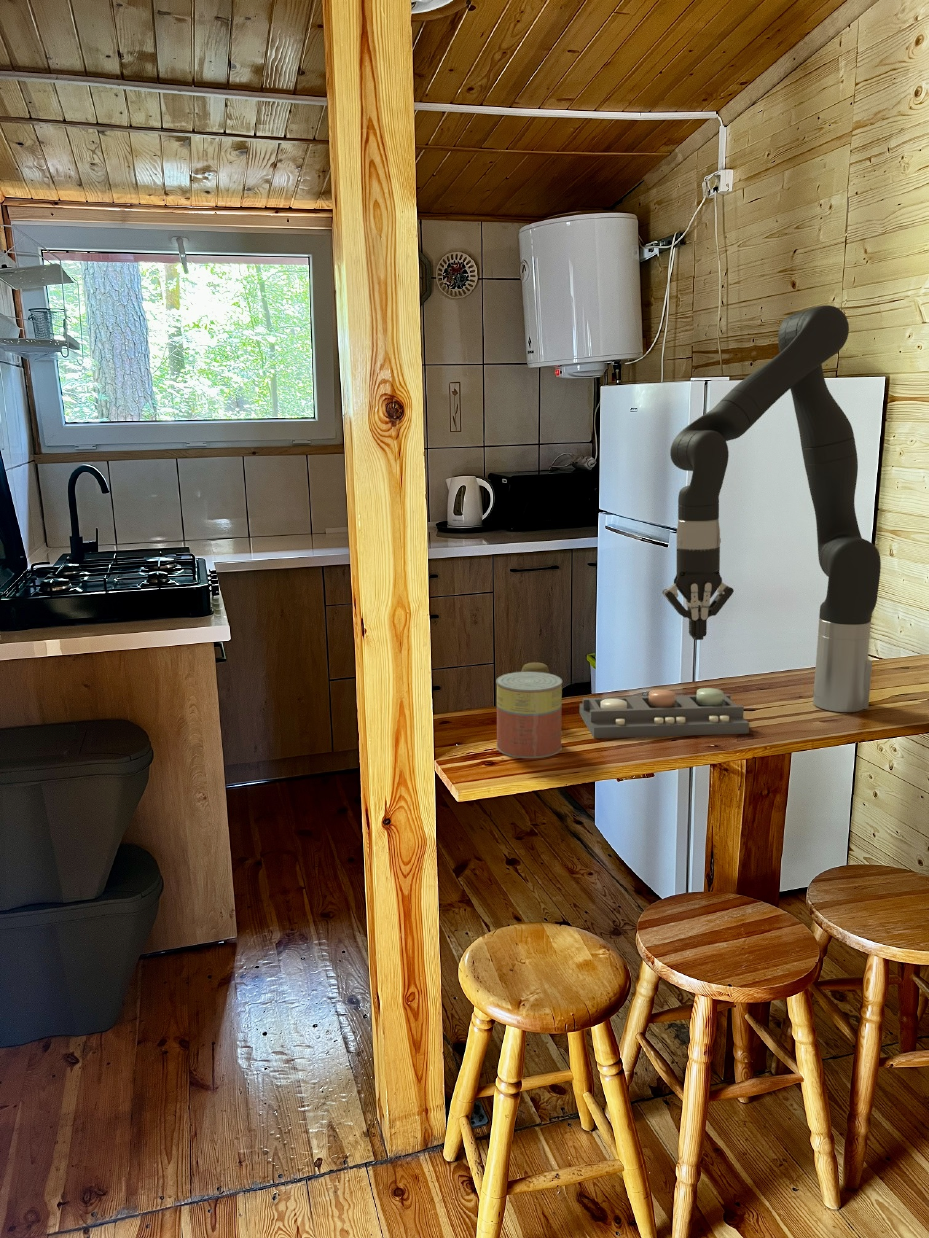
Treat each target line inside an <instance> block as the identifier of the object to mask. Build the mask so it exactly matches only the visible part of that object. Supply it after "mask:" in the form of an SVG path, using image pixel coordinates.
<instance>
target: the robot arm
mask: <svg viewBox="0 0 929 1238" xmlns="http://www.w3.org/2000/svg"><path fill="white" fill-rule="evenodd" d="M849 325H850V324H849V321H848V318H847V316H846V314H845V313H844V311H842V310H841V309H840V308H839V307H836V306H834V305H830V304H829V305H828V304H826V305H818V306H814V307H811V308H807V309H803V310H801V311H797V312H795V313H792V314H790V315H788V316H787V317H786V318H784V319H783V320H782V322H781V324H780V326H779V328H778V332H777V333H778V334H777V335H778V336H777V344H778V350H779V353H778V354H777V355H776V356H774V357H773V358H771V360H769V361H768V362H767V363H765V364H764V365H762V366H761V367H758V369H757V370H755V371H753V372H752V373H750V374H749V375H747V376H746V377H745V378H744V379H743V380H741V381H740V382H739V383H737V384H736V385H735V386H734V387H733V388H732V389H731V390H730V391H729V392H728V393H727V394H725V396H724V397H722V399H720V401H719V402H718V403H716V405H715V406H714V407H713V408H712V409H711V410H709V411H707V412H706V413H704V414H703V415H701V416H699V417H698V418H697V419H695V420H694V421H693V422H691V423H689V424H688V425H687V426H686V427H685V428H683V429H682V430H681V431H680V432H679V433H678V434H677V435H676V436H675V438H674V439H673V441H672V443H671V447H670V451H669V452H670V454H669V455H670V460H671V462H672V463H673V465H674V466H675V467H676V468H678V469H680V470H683V471H686V472H692V473H691V474H692V475H691V479H690V482H689V485H686V486H684V487H682V488H681V489H679V492H678V498H677V499H678V500H677V504H678V505H677V507H678V508H677V526H676V527H677V528H676V574H675V577H674V579H673V583H672V585H670V586H669V588H665V589H663V590H662V595H663V596H664V597H665V598H666V600H667V601H668V603H669V604H670V605H671V606H672V607H673V608H674V610H675V611H676V612H677V613H678V615H680V616H681V617H683V618H686V619H688V633H689V636H690V637H691V638H692V640H694V641H702V640H704V637H706V636H707V625H708V624H707V622H708V621H707V620H708V619H709V618H710V617H714V616H716V615H717V614H718V613H719V612H720V610H721V609H722V608H723V607H724V606H725V604H726V603H727V602H728V600H730V598H731V596H732V595H733V593H734V588H733V587H731V586H729V585H726V584H725V583H724V582H723V579H722V576H721V573H720V566H721V565H720V564H721V559H720V557H721V542H722V541H721V539H722V538H721V527H720V520H719V519H720V494H721V490H722V487H723V484H724V479H725V476H726V473H727V472H726V471H727V468H728V467H727V466H728V463H729V455H730V454H729V453H730V452H729V446H728V443H727V442H728V441H733V440H736V439H738V438H740V437H741V436H743V435H744V434H745V433H746V432H747V431H748V430H750V428H752V426H753V425H754V424H755V423H756V422H757V421H758V420H759V419H760V418H761V417H762V416H763V415H764V414H765V413H766V412H767V411H768V410H769V409H770V408H771V407H772V406H773V405H774V404H775V403H777V402H778V400H779V399H780V398H781V397H782V396H784V395H785V394H786V393H787V392H789V390H790V393H791V397H792V401H793V402H792V403H793V407H794V413H795V417H796V418H795V419H796V422H797V428H798V433H799V438H800V446H801V452H802V458H803V462H804V463H803V465H804V469H805V473H806V478H807V484H808V488H809V493H810V498H811V501H812V505H813V509H814V510H813V511H814V514H815V522H816V538H817V556H818V557H817V558H818V563H819V566H820V568H821V571H822V572H823V573H824V575H825V576H826V577H828V580H827V591H826V596H825V599H824V601H823V602H822V603H821V604H820V607H819V613H818V614H819V615H818V616H819V617H818V630H817V631H818V632H817V645H816V657H815V659H816V660H815V669H814V670H815V671H814V684H813V693H812V694H813V696H812V697H813V699H812V703H813V705H814V706H815V707H817V708H819V709H821V710H822V709H823V710H826V711H830V712H838V713H839V712H840V713H854V712H859V711H863V710H869V702H870V690H871V682H872V681H871V680H872V670H873V669H872V668H873V661H872V660H871V659H869V649H870V639H871V638H870V636H871V626H872V615H873V612H874V610H875V609H876V604H877V602H878V601H877V600H878V595H879V594H878V593H879V586H880V579H881V567H882V566H881V564H882V563H881V562H882V561H881V555H880V552H879V549H878V548H877V546H876V545H874V543H872V542H870V541H869V540H867V539H865V538H862V535H861V530H860V527H859V522H858V518H857V515H856V507H855V499H856V497H855V495H856V489H857V481H858V472H859V471H858V470H859V459H858V453H857V446H856V439H855V434H854V430H853V426H852V424H851V422H850V420H849V418H848V417H847V415H846V414H845V412H844V411H843V409H842V408H841V407H840V405H839V404H838V403H837V401H836V399H835V398H834V397H833V395H832V394H831V391H830V389H829V388H828V385H827V383H826V379H825V375H824V369H823V365H822V364H823V363H825V362H827V361H828V360H829V359H831V358H832V357H833V356H835V355H837V354H838V353H839V352H840V351H841V350H842V348H843V347H844V346H845V344H846V342H847V340H848V337H849V333H850V326H849ZM678 592H679V593H680V594H681V595H682V597H683V599H685V604H686V606H687V607H686V608H685V606H684V605H683V604H682V603H681V602H680V600H679V599H678V597H679V593H678ZM716 593H717V594H716ZM715 594H716V596H715V597H714V599H712V601H711V598H712V597H713V596H714V595H715Z"/></svg>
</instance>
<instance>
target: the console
mask: <svg viewBox="0 0 929 1238" xmlns="http://www.w3.org/2000/svg"><path fill="white" fill-rule="evenodd" d="M696 697H697V694H687V695H686V694H683V695H681V694H680V695H678V694H677V695H675V705H674V706H673V707H667V708H661V707H654V706H651V705H650V704H649V695H647V696H646V695H645V696H618V697H612V696H611V697H585V698H584V697H583V698H582V703H579V715H580V717H581V719H582V720H583V722H584V724H585V725H586V727H587V729H588V731H589V732H590V734H591V736H592V738H593V739H615V738H616V739H617V738H618V739H619V738H643V737H644V738H645V737H679V736H681V737H683V736H709V735H713V736H714V735H736V734H737V735H740V734H741V735H742V734H743V735H744V734H746V735H747V734H749V733H750V723H749V721H748V720H746V718H745V717H744V713H745V712H744V710H745V707H744V706H743V705H742V704H741V705H740V704H739V705H737V704H735V702H734V701H732V699H731V697H732V696H731V694H729V693H724V694H723V704H722V705H719V706H705V705H701V704H698V703H697V702H696ZM604 699H621V700H624V701H626V702H627V709H603V710H601V709H600V706H601V701H602V700H604Z"/></svg>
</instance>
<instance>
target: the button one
mask: <svg viewBox="0 0 929 1238" xmlns="http://www.w3.org/2000/svg"><path fill="white" fill-rule="evenodd" d="M600 709H601V710H603V709H627V702H626V701H624V700H621V699H604V700H602V701H601V706H600Z"/></svg>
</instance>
